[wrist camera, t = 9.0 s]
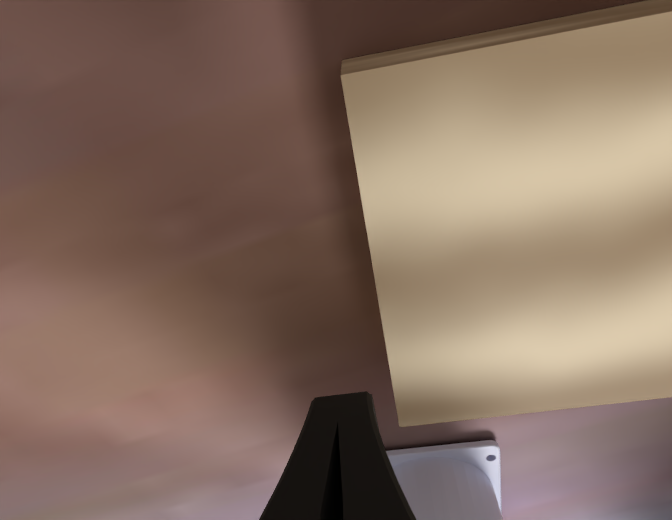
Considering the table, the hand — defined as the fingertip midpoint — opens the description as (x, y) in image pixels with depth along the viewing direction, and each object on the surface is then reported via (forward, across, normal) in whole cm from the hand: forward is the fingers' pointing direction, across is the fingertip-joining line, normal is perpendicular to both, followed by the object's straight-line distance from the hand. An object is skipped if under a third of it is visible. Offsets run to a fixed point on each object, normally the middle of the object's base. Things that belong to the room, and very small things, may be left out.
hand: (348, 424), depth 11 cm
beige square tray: (+10, -8, 0) cm, 13 cm away
